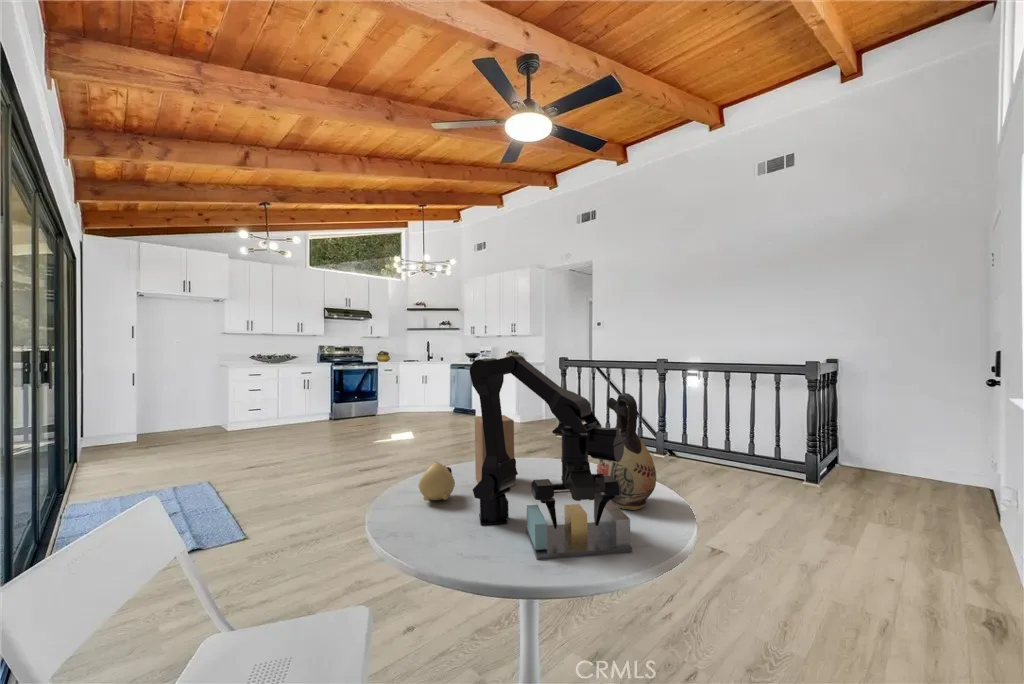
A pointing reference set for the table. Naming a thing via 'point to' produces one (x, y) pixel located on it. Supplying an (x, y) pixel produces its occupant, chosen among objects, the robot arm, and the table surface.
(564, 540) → the vise base
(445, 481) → the toy pig
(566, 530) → the brass block
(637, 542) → the table surface
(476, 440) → the wooden block
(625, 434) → the ceramic jug
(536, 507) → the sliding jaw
